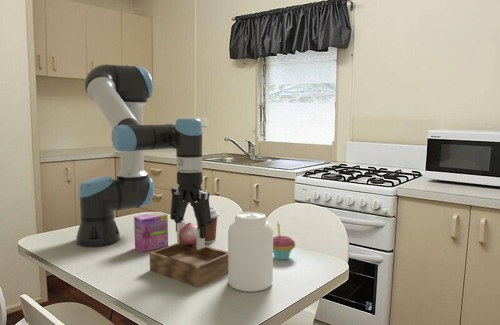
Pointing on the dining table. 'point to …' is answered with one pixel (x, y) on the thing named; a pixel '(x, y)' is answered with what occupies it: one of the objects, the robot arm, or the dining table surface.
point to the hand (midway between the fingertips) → (190, 245)
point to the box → (151, 231)
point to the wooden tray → (189, 263)
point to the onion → (188, 235)
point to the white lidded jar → (250, 252)
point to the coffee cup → (211, 226)
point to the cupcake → (282, 246)
